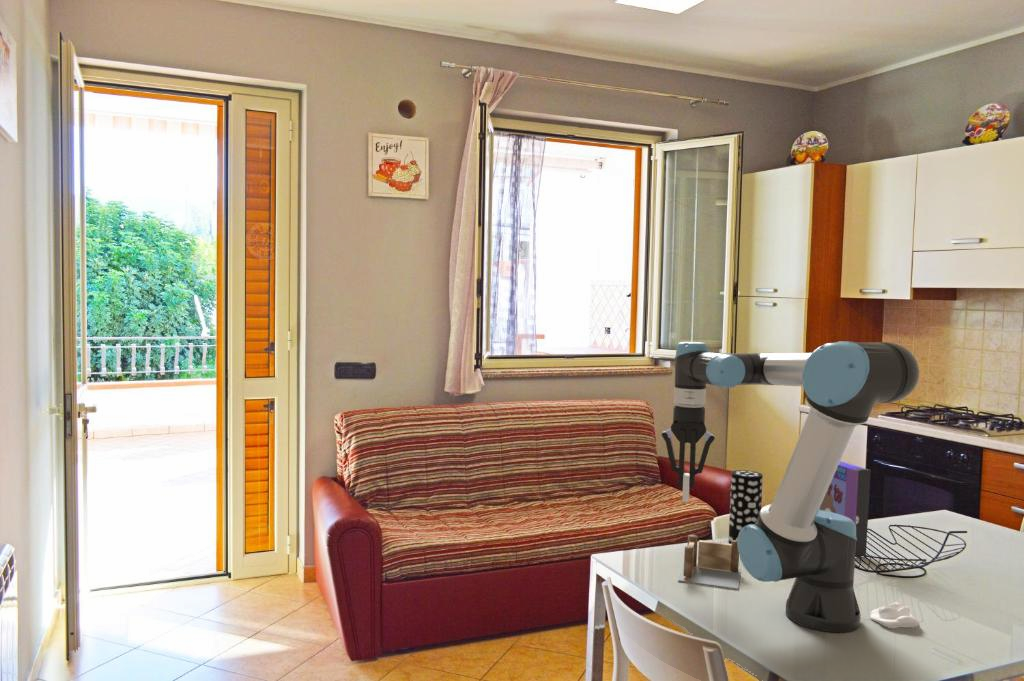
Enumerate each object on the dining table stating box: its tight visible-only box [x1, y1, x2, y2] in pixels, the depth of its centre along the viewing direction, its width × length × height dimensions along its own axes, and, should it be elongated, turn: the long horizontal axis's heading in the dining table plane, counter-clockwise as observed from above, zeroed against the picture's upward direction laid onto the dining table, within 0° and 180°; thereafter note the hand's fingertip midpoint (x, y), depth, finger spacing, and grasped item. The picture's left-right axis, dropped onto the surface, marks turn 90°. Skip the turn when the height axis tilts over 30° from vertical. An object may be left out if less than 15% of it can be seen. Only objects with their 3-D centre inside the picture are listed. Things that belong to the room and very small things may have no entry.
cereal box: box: [819, 460, 872, 558], centre depth 221 cm, size 17×5×24 cm, turn 17°
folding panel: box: [683, 542, 695, 577], centre depth 196 cm, size 9×2×7 cm, turn 162°
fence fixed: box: [687, 534, 740, 572], centre depth 200 cm, size 13×2×8 cm, turn 72°
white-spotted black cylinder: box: [728, 469, 764, 544], centre depth 222 cm, size 8×8×20 cm
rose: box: [869, 601, 920, 629], centre depth 171 cm, size 10×4×10 cm
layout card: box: [677, 563, 742, 591], centre depth 196 cm, size 14×14×1 cm
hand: (685, 500), depth 195 cm, fingers closed
